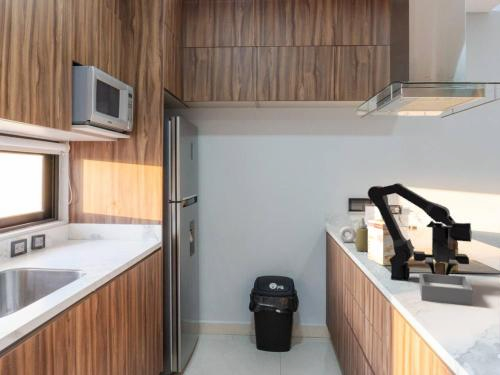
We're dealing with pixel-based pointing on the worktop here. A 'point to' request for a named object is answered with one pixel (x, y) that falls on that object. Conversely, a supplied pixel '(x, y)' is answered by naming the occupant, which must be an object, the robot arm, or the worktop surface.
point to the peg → (440, 268)
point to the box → (445, 289)
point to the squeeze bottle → (361, 237)
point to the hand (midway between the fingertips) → (440, 279)
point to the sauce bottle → (454, 245)
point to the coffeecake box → (379, 242)
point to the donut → (350, 230)
